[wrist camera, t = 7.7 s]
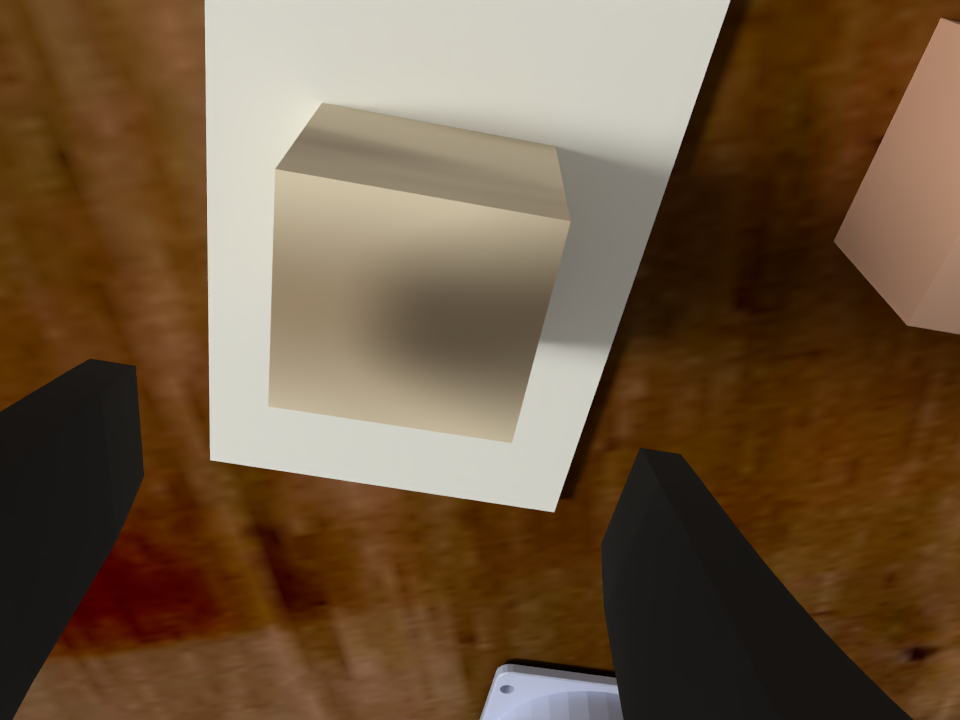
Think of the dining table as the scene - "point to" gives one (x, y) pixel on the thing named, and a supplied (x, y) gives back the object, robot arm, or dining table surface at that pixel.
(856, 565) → the dining table surface
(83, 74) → the dining table surface
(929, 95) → the terracotta brick
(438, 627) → the dining table surface
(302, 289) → the ash brick
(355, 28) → the mat
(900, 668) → the dining table surface
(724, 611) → the robot arm
